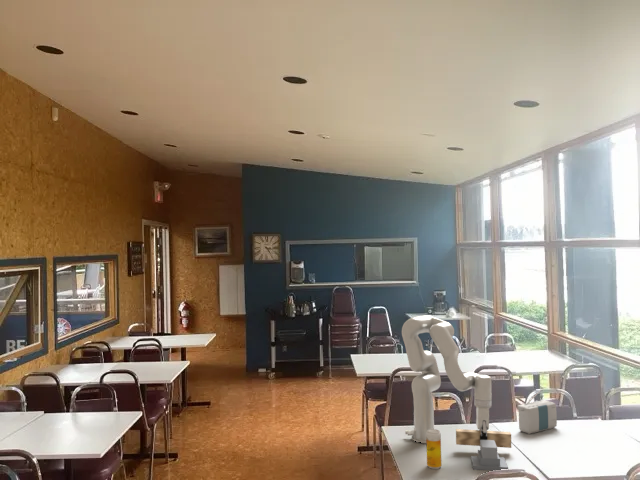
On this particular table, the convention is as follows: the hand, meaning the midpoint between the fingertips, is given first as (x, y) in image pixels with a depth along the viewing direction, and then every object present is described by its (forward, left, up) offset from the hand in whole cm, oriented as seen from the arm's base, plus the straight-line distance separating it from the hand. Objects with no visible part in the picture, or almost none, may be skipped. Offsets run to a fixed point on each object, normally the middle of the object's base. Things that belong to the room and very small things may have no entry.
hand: (483, 442), depth 255 cm
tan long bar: (0, 0, -1) cm, 1 cm away
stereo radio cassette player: (+31, +38, -5) cm, 49 cm away
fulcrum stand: (+1, -16, -4) cm, 17 cm away
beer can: (-22, -21, -4) cm, 31 cm away
